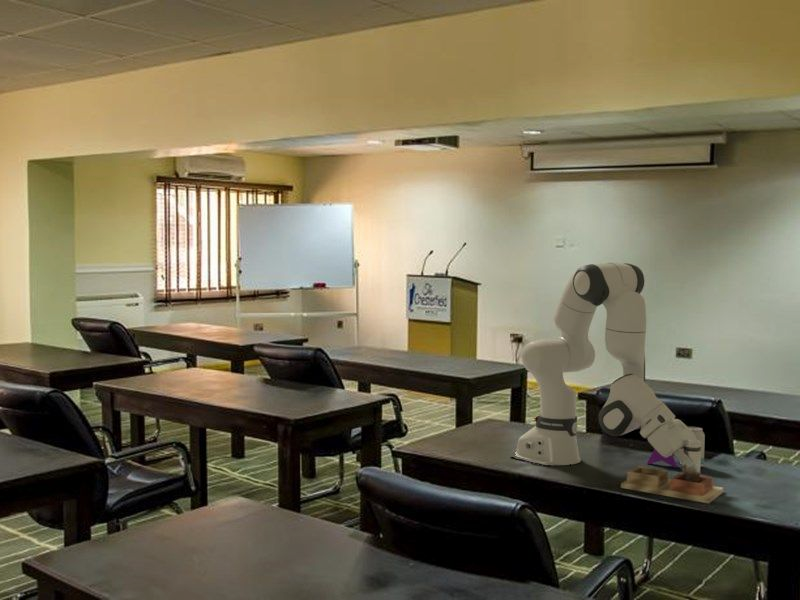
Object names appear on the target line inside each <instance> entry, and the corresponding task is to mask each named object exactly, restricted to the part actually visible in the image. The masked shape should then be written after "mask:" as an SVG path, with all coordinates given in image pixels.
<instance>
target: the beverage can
mask: <svg viewBox="0 0 800 600" xmlns="http://www.w3.org/2000/svg"><path fill="white" fill-rule="evenodd" d="M687 427H688V428H689V429H690V430H691V431H692V432H693V433H694V434H695V436H696V440H699V441H701V462H700V468H702V467H704V466H705V441H706V440H705V439H706V438H705V437H706V435H705V432H704V431H703V428H702V427H699V426H687ZM682 450H683V449H682ZM679 463H680V465H681V466H683V461H681V460H680V459H679Z"/></svg>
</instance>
